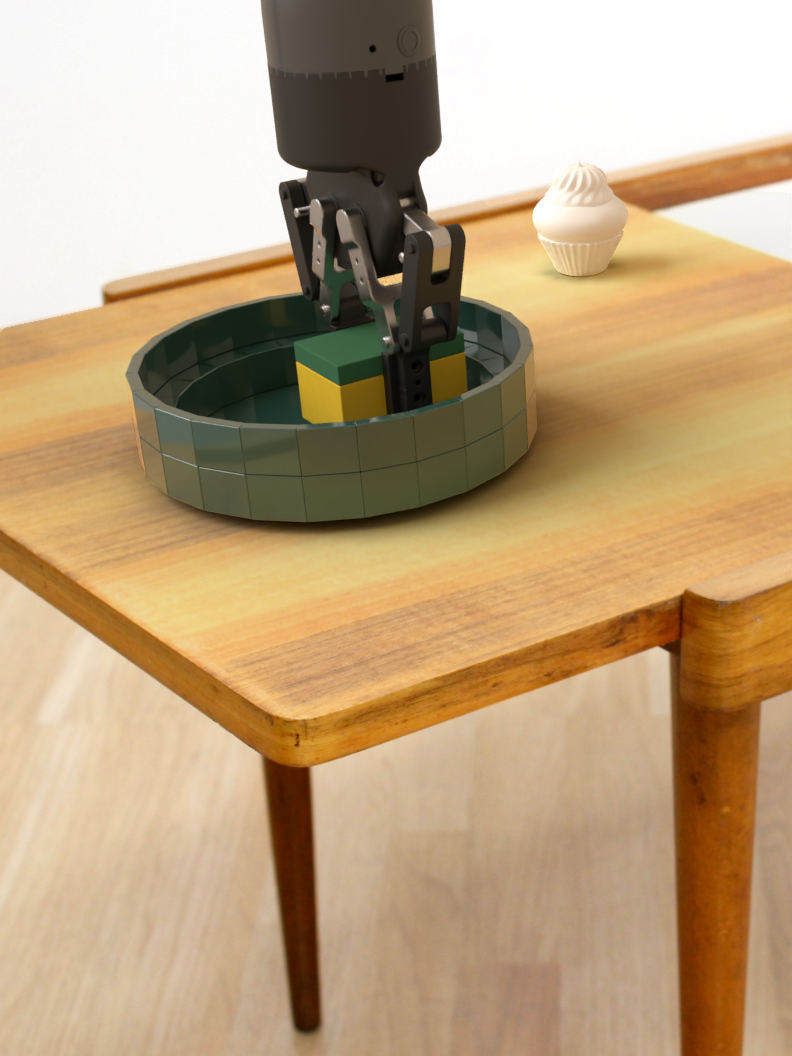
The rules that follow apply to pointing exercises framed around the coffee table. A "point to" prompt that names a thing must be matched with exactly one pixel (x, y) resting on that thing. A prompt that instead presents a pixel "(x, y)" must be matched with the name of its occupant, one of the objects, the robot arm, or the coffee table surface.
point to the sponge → (364, 374)
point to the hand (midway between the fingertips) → (384, 403)
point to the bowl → (324, 448)
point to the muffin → (580, 220)
